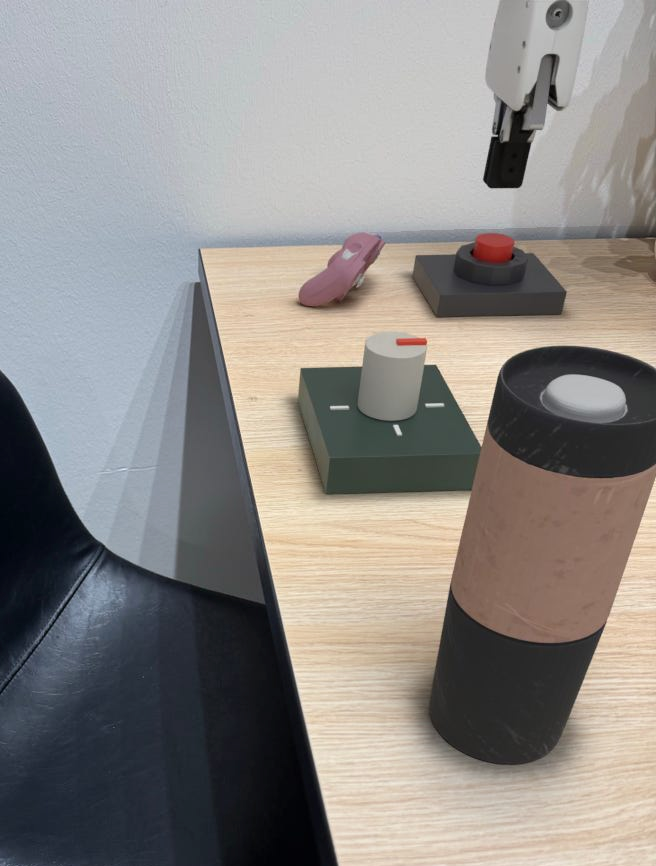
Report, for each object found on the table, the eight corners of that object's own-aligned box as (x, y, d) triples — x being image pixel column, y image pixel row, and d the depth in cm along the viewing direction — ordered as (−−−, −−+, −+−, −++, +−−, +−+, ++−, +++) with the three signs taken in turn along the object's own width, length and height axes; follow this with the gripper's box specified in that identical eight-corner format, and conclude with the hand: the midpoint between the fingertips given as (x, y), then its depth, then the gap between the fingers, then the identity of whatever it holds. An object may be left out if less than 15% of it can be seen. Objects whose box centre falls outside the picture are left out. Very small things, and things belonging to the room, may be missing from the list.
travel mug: (395, 717, 57) (461, 382, 44) (472, 652, 61) (553, 328, 48) (519, 792, 53) (631, 446, 40) (592, 717, 57) (716, 382, 44)
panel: (297, 401, 85) (300, 365, 83) (430, 398, 85) (436, 362, 83) (325, 494, 74) (330, 455, 72) (477, 489, 75) (485, 451, 73)
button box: (528, 274, 106) (537, 234, 103) (561, 314, 98) (572, 272, 96) (412, 276, 105) (418, 236, 103) (436, 317, 98) (443, 275, 95)
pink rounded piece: (330, 328, 99) (369, 269, 94) (291, 300, 99) (329, 239, 94) (362, 292, 106) (400, 235, 101) (326, 265, 106) (363, 207, 101)
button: (504, 250, 101) (508, 232, 100) (515, 264, 98) (519, 245, 97) (468, 251, 101) (471, 233, 100) (478, 265, 98) (481, 246, 97)
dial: (363, 422, 76) (372, 354, 73) (352, 394, 79) (360, 327, 76) (422, 420, 76) (434, 352, 73) (409, 392, 80) (420, 326, 76)
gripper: (633, -37, 78) (569, 213, 90) (566, -66, 89) (517, 160, 101) (535, -38, 78) (484, 214, 90) (480, -67, 89) (441, 160, 101)
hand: (501, 184), depth 95 cm, fingers closed
